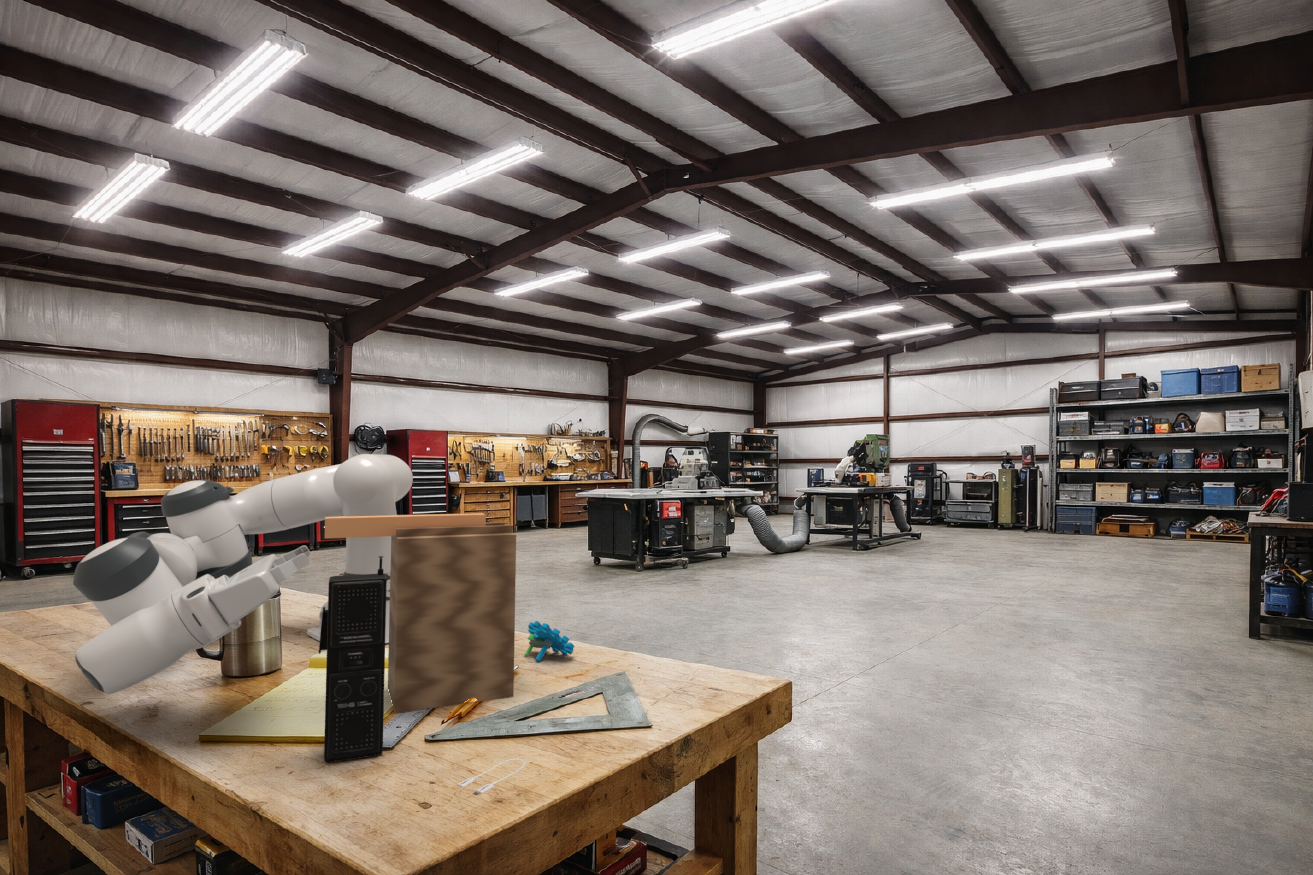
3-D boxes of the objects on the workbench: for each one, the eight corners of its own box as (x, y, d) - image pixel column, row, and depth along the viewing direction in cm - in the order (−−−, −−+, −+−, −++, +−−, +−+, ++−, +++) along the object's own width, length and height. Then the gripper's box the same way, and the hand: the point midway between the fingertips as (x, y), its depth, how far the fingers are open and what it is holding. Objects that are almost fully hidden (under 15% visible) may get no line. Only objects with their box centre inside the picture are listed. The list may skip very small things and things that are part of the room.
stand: (394, 713, 103) (398, 530, 104) (387, 689, 114) (391, 524, 115) (513, 696, 111) (516, 527, 112) (496, 675, 122) (499, 521, 123)
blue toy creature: (585, 650, 132) (553, 618, 128) (569, 677, 129) (536, 645, 125) (550, 647, 140) (519, 617, 136) (535, 673, 136) (502, 642, 132)
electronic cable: (452, 789, 80) (452, 785, 80) (509, 758, 89) (509, 754, 89) (477, 798, 78) (477, 794, 78) (534, 765, 87) (534, 761, 87)
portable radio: (314, 767, 85) (320, 563, 86) (317, 748, 90) (322, 557, 91) (383, 756, 88) (387, 560, 89) (381, 739, 94) (385, 554, 94)
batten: (324, 538, 104) (325, 518, 104) (324, 536, 106) (325, 516, 106) (485, 532, 114) (485, 514, 114) (481, 530, 117) (482, 513, 117)
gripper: (233, 610, 108) (319, 561, 113) (214, 641, 90) (318, 581, 95) (210, 576, 107) (298, 529, 112) (186, 601, 88) (293, 543, 94)
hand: (307, 553), depth 103 cm, fingers open, 8 cm apart
